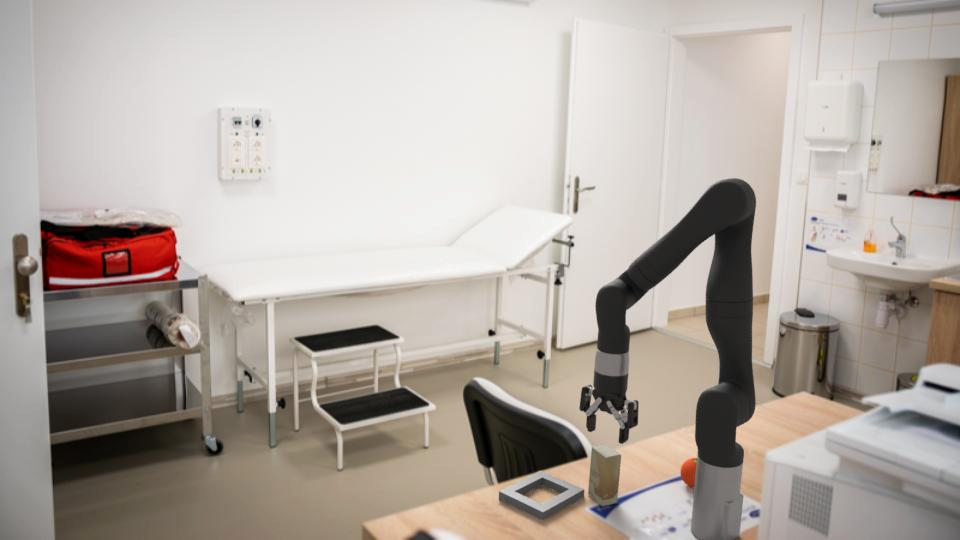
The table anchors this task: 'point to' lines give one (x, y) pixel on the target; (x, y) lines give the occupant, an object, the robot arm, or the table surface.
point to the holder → (548, 508)
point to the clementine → (689, 472)
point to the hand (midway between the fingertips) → (606, 436)
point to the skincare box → (604, 474)
